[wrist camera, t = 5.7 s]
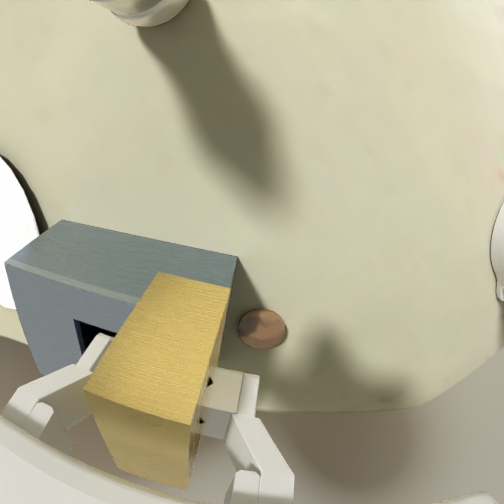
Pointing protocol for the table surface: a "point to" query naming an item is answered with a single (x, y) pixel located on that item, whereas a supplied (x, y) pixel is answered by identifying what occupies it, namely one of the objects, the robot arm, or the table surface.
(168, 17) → the plastic bottle
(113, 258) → the coin box
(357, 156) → the table surface
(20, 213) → the plate
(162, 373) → the brushed brass bar
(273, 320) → the copper token
